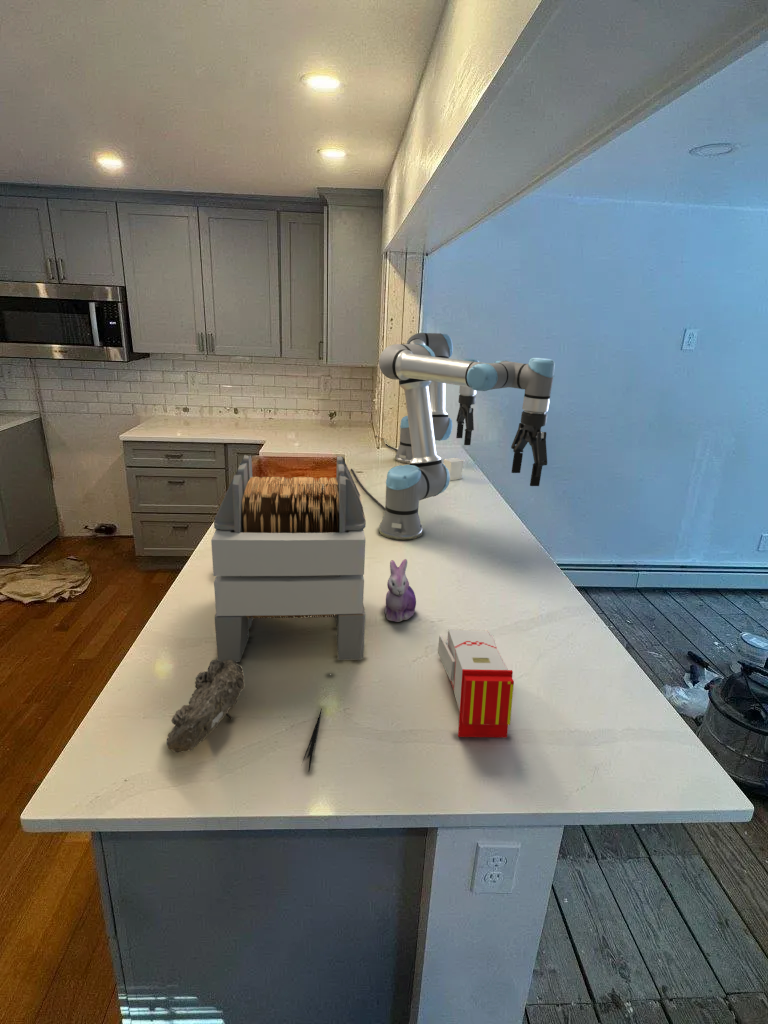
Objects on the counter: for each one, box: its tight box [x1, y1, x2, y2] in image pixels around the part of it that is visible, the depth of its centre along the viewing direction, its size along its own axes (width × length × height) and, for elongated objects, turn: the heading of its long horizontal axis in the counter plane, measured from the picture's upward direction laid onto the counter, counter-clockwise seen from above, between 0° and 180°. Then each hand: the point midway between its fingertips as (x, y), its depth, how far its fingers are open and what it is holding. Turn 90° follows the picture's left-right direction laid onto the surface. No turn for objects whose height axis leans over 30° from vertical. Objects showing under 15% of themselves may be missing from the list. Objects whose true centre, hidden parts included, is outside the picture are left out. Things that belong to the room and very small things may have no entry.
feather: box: [301, 673, 332, 771], centre depth 108 cm, size 2×28×2 cm
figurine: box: [384, 558, 417, 623], centre depth 145 cm, size 9×10×15 cm
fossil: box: [166, 659, 245, 754], centre depth 106 cm, size 22×10×15 cm
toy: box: [437, 628, 515, 738], centre depth 117 cm, size 12×13×30 cm
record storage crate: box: [210, 454, 366, 663], centre depth 134 cm, size 34×33×41 cm
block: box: [442, 457, 464, 481], centre depth 268 cm, size 7×6×9 cm
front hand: (524, 479), depth 178 cm, fingers open, 13 cm apart
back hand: (463, 441), depth 259 cm, fingers open, 13 cm apart
